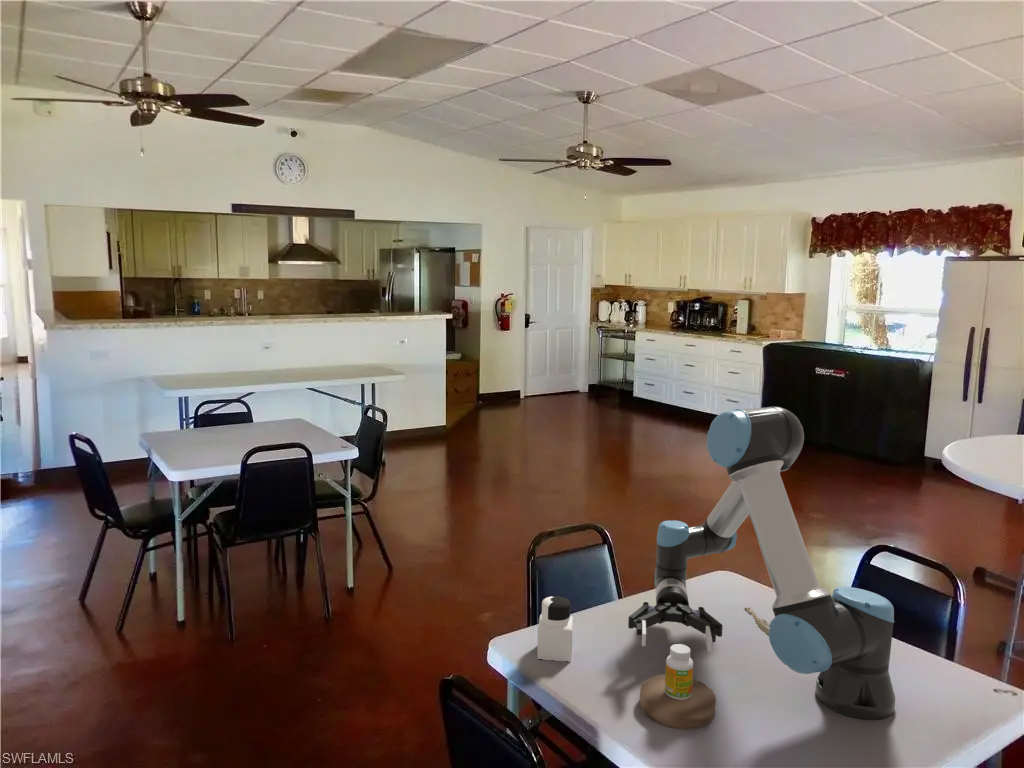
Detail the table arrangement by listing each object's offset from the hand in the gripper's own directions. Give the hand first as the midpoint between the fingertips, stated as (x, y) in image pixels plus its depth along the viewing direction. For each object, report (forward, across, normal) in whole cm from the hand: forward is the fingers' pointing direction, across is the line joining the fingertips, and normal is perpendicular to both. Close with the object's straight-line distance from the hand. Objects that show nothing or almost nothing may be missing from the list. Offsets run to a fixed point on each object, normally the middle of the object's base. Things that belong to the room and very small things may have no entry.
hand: (676, 643), depth 161 cm
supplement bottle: (+7, 0, -8) cm, 10 cm away
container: (-11, +26, -11) cm, 31 cm away
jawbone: (-36, -28, -11) cm, 47 cm away
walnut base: (+7, 0, -11) cm, 12 cm away
